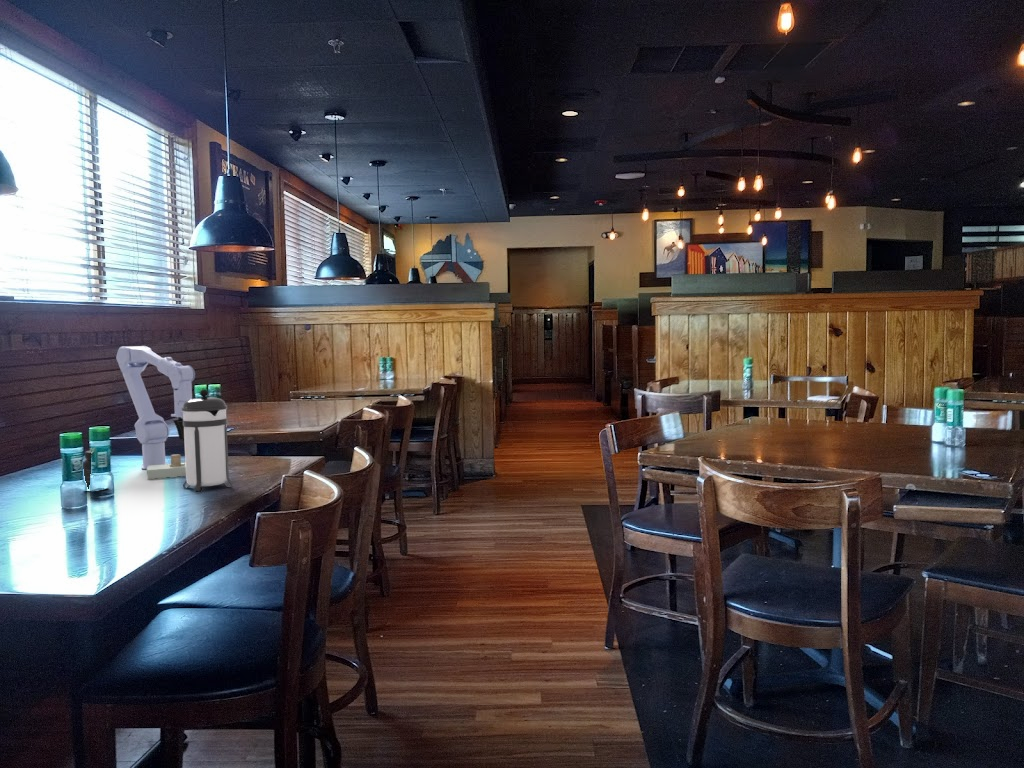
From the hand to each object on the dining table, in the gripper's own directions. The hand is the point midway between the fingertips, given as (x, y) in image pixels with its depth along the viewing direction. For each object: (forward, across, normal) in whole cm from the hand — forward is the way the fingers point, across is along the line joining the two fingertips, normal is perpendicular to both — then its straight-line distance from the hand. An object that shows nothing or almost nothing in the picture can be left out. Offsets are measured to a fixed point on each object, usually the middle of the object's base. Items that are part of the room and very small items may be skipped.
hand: (185, 440), depth 260 cm
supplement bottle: (+11, +19, -29) cm, 36 cm away
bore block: (+10, +6, -4) cm, 13 cm away
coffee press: (+11, +36, -1) cm, 38 cm away
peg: (+10, +6, -4) cm, 13 cm away
